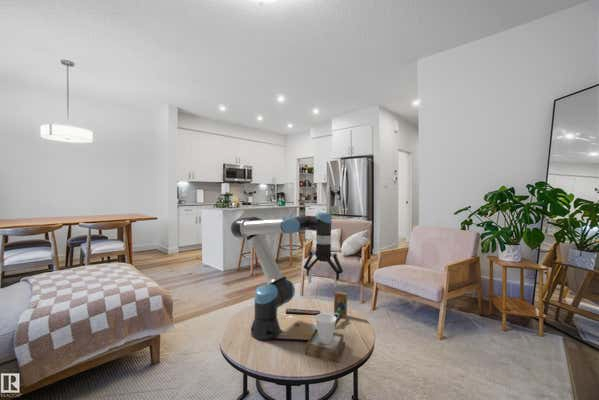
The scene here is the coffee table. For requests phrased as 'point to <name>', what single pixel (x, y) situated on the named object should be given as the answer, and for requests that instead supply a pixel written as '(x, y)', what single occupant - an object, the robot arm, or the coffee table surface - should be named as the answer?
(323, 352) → the brown box
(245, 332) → the coffee table surface
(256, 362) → the coffee table surface
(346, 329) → the coffee table surface
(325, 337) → the cup
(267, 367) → the coffee table surface
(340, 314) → the figurine
